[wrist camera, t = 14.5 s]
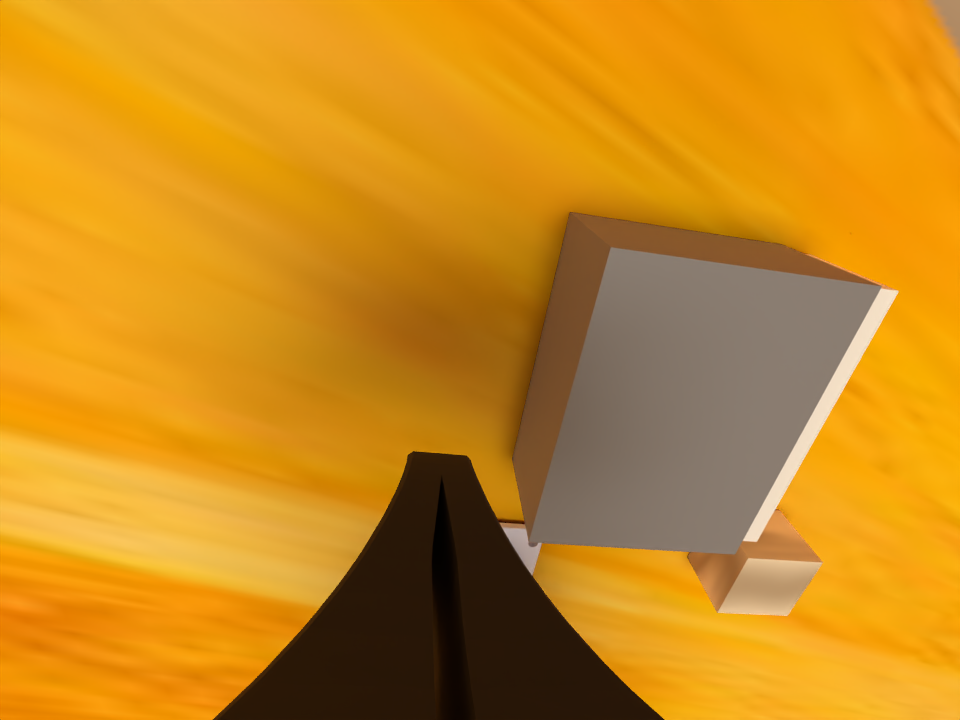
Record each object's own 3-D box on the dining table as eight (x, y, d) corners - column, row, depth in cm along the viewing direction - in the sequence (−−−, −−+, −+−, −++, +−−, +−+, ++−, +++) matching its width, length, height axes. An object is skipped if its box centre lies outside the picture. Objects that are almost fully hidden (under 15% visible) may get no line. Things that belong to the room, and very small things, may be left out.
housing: (682, 473, 26) (735, 554, 21) (512, 459, 24) (528, 542, 20) (781, 244, 20) (882, 286, 16) (570, 212, 19) (610, 247, 14)
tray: (708, 474, 25) (756, 541, 22) (539, 460, 24) (557, 529, 20) (811, 254, 20) (898, 290, 16) (602, 223, 19) (643, 254, 15)
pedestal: (750, 561, 29) (787, 615, 26) (687, 557, 29) (717, 612, 26) (779, 510, 27) (822, 562, 24) (712, 505, 27) (748, 558, 24)
